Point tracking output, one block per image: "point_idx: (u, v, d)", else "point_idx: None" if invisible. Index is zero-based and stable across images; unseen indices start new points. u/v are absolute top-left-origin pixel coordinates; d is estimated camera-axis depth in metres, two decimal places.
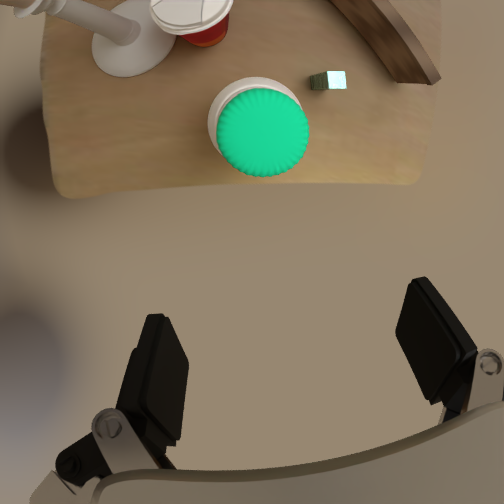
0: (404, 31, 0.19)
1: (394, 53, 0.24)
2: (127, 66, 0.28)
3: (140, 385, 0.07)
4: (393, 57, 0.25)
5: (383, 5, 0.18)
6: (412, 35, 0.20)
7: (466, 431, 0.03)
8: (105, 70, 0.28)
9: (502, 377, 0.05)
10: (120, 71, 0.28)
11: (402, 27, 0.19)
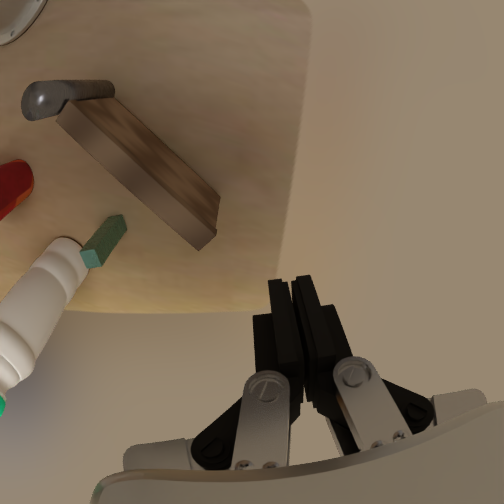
0: (138, 183, 0.19)
1: None
2: None
3: (294, 341, 0.08)
4: None
5: (102, 152, 0.17)
6: (152, 184, 0.19)
7: (466, 431, 0.03)
8: None
9: (378, 378, 0.06)
10: None
11: (134, 177, 0.19)
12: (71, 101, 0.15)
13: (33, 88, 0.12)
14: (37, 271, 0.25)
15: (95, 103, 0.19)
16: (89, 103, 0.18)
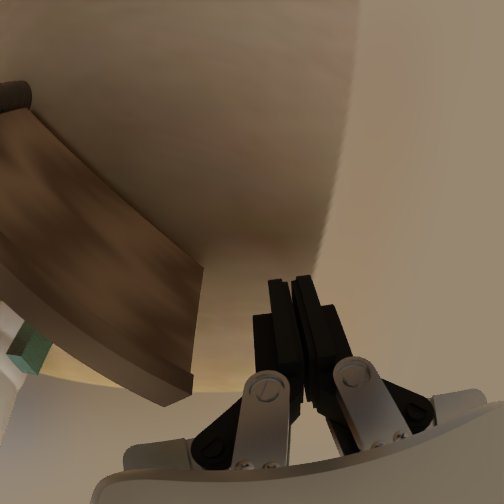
0: (25, 306, 0.07)
1: None
2: None
3: (294, 341, 0.08)
4: None
5: None
6: (48, 312, 0.07)
7: (466, 431, 0.03)
8: None
9: (378, 378, 0.06)
10: None
11: (16, 295, 0.07)
12: None
13: None
14: None
15: None
16: None
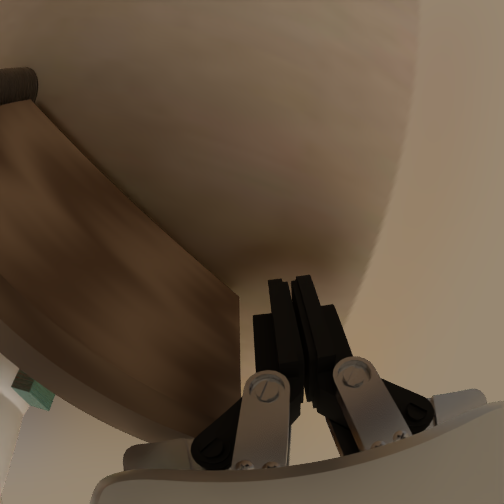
0: (40, 371, 0.05)
1: None
2: None
3: (294, 341, 0.08)
4: None
5: None
6: (73, 383, 0.05)
7: (466, 431, 0.03)
8: None
9: (378, 378, 0.06)
10: None
11: (26, 358, 0.05)
12: None
13: None
14: None
15: None
16: None
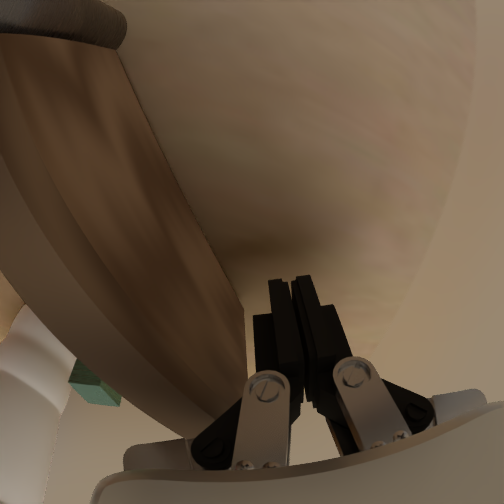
0: (124, 375, 0.06)
1: None
2: None
3: (294, 341, 0.08)
4: None
5: (19, 264, 0.04)
6: (165, 389, 0.06)
7: (466, 431, 0.03)
8: None
9: (377, 378, 0.06)
10: None
11: (115, 363, 0.06)
12: None
13: None
14: (3, 380, 0.11)
15: (62, 51, 0.05)
16: (42, 47, 0.04)
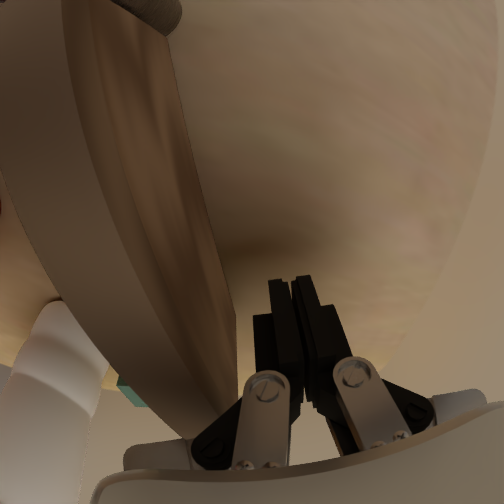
0: (152, 378, 0.06)
1: None
2: None
3: (294, 341, 0.08)
4: None
5: (71, 258, 0.04)
6: (190, 394, 0.07)
7: (466, 431, 0.03)
8: None
9: (377, 378, 0.06)
10: None
11: (148, 367, 0.06)
12: None
13: None
14: (28, 387, 0.11)
15: (131, 28, 0.05)
16: (117, 18, 0.04)
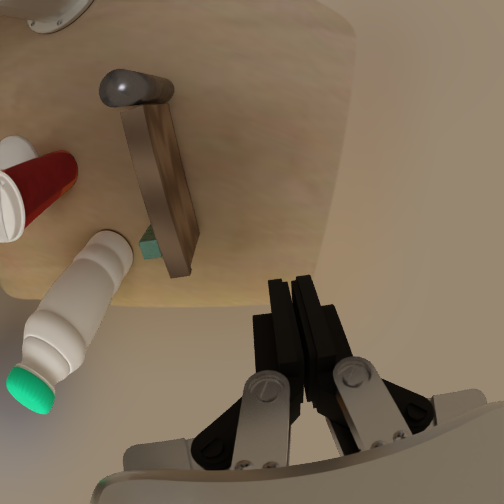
0: (156, 209, 0.23)
1: None
2: None
3: (294, 341, 0.08)
4: None
5: (143, 169, 0.21)
6: (167, 217, 0.23)
7: (466, 431, 0.03)
8: None
9: (378, 378, 0.06)
10: None
11: (156, 203, 0.23)
12: (143, 106, 0.19)
13: (115, 75, 0.15)
14: (85, 262, 0.27)
15: (156, 110, 0.22)
16: (152, 109, 0.21)
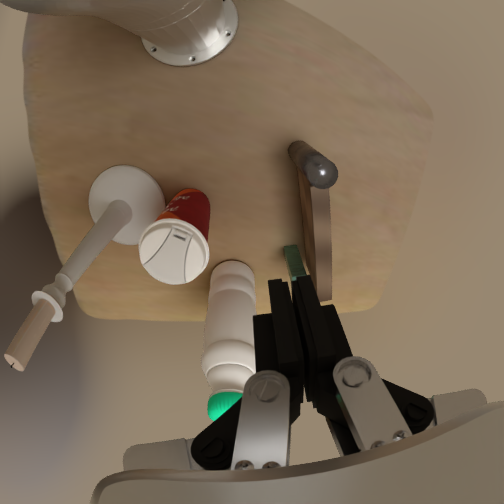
0: (323, 257, 0.33)
1: (311, 255, 0.38)
2: (127, 240, 0.40)
3: (294, 341, 0.08)
4: (309, 255, 0.39)
5: (321, 229, 0.31)
6: (329, 262, 0.33)
7: (466, 431, 0.03)
8: None
9: (378, 378, 0.06)
10: (121, 241, 0.41)
11: (324, 253, 0.33)
12: None
13: (324, 164, 0.25)
14: (236, 292, 0.38)
15: None
16: None
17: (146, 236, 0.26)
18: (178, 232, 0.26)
